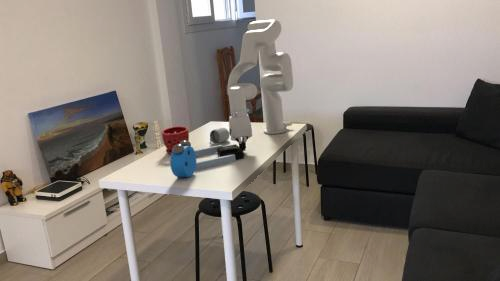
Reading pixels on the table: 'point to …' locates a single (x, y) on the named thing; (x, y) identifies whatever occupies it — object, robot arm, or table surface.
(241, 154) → the battery charger
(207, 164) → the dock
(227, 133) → the ceramic mug
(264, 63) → the robot arm
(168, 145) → the plant pot
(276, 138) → the table surface
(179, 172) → the alarm clock
